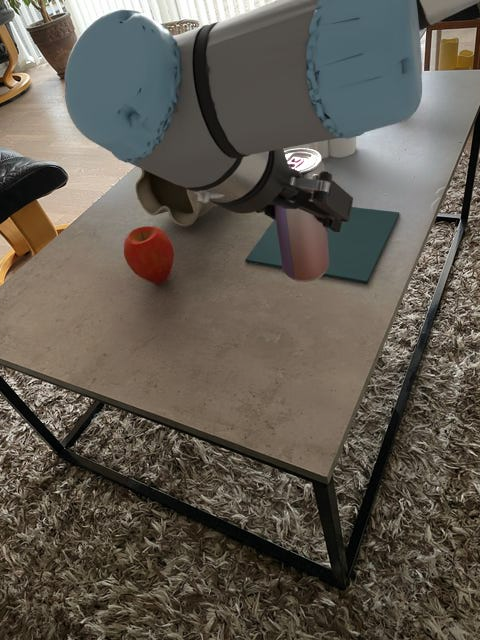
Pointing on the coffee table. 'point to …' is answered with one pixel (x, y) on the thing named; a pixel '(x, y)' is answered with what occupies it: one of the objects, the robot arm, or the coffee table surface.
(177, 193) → the vase
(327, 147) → the vase
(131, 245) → the apple
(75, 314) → the coffee table surface
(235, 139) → the robot arm
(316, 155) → the beverage can
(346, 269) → the mat
